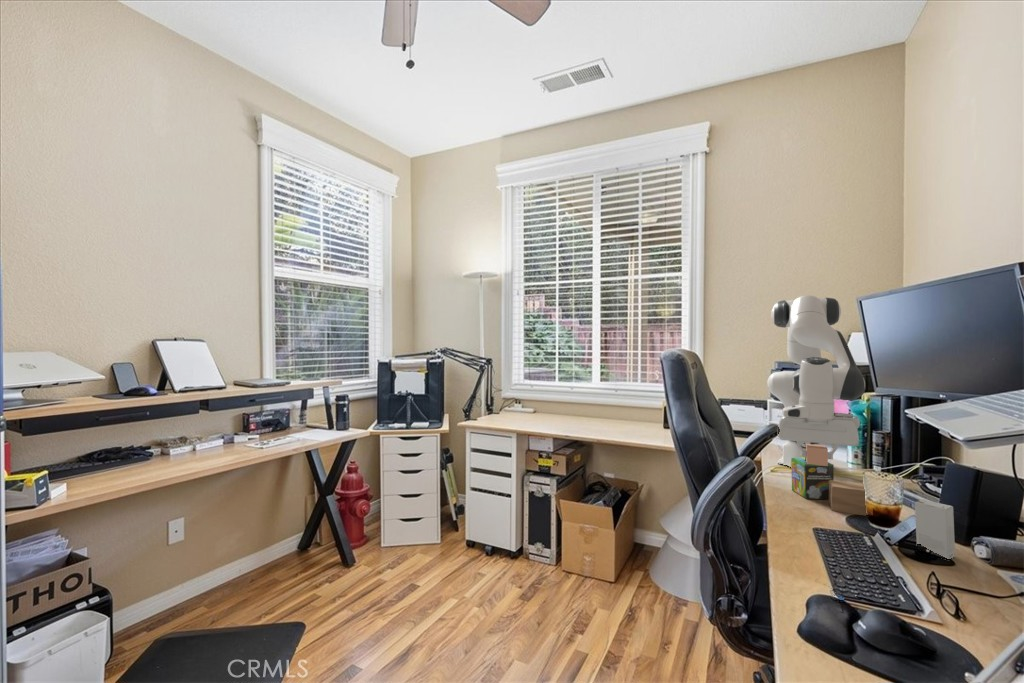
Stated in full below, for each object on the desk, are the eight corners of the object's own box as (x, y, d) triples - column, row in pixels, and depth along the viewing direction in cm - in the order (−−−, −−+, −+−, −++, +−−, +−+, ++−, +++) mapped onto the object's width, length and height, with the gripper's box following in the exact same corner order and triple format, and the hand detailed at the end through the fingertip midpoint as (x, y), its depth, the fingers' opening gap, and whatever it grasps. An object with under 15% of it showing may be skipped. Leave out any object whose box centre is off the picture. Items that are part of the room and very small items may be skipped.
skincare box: (955, 557, 106) (955, 505, 107) (948, 561, 104) (948, 509, 104) (922, 546, 112) (922, 498, 112) (914, 551, 110) (914, 501, 110)
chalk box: (818, 490, 154) (818, 447, 154) (835, 500, 145) (835, 454, 145) (790, 490, 155) (790, 447, 155) (805, 499, 146) (804, 453, 146)
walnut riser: (828, 502, 143) (828, 479, 143) (868, 508, 138) (868, 484, 138) (831, 510, 136) (831, 486, 136) (873, 516, 131) (873, 491, 131)
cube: (806, 460, 139) (806, 443, 139) (825, 462, 137) (825, 445, 137) (807, 463, 135) (807, 447, 135) (827, 466, 132) (827, 449, 132)
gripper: (857, 412, 133) (857, 459, 133) (777, 407, 143) (777, 451, 143) (861, 415, 128) (861, 464, 128) (777, 410, 138) (778, 455, 138)
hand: (816, 457), depth 136 cm, fingers closed on cube, 5 cm apart
